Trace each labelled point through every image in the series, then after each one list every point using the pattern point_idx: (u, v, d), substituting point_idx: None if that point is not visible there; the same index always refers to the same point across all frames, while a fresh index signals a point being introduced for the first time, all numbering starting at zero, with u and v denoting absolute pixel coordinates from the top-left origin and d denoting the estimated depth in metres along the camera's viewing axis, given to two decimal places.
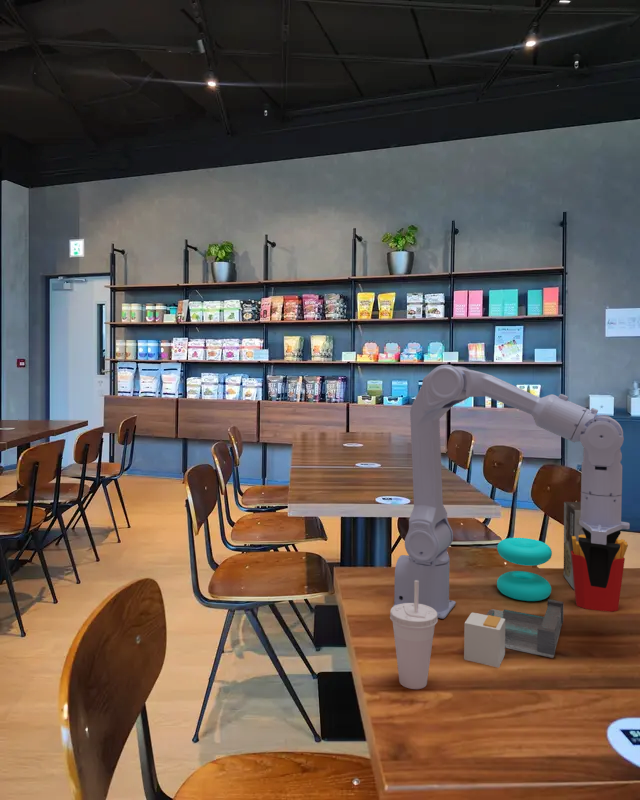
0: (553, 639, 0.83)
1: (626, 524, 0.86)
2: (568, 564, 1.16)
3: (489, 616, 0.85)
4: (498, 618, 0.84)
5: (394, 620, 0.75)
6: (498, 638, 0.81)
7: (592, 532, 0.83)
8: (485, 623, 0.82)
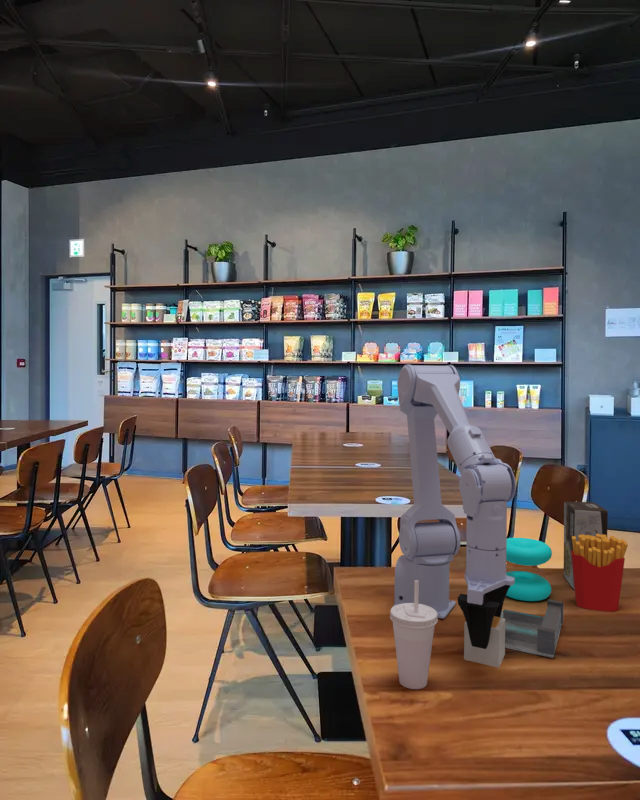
0: (553, 639, 0.83)
1: (510, 580, 0.81)
2: (568, 564, 1.16)
3: None
4: (498, 618, 0.84)
5: (394, 620, 0.75)
6: (498, 638, 0.81)
7: (468, 591, 0.78)
8: None
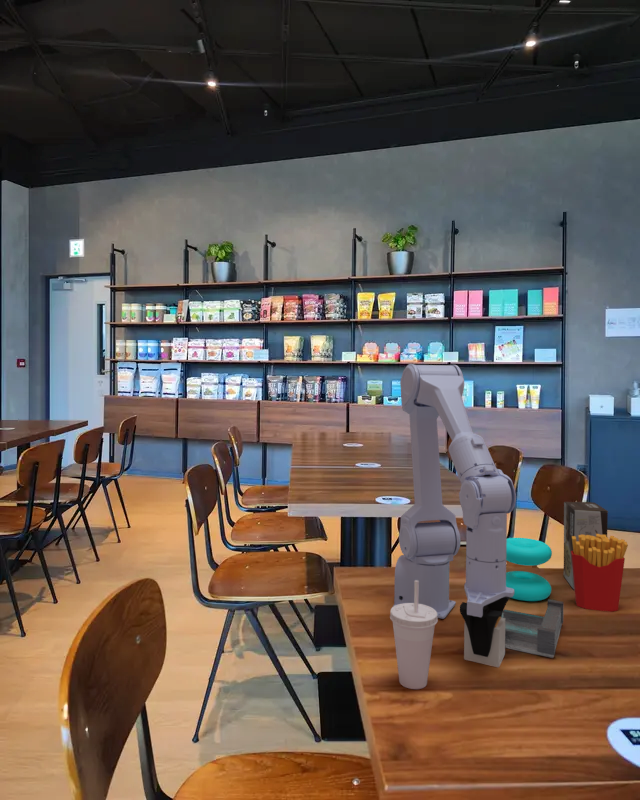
0: (553, 639, 0.83)
1: (510, 591, 0.81)
2: (568, 564, 1.16)
3: None
4: None
5: (394, 620, 0.75)
6: (498, 637, 0.81)
7: (468, 603, 0.78)
8: None
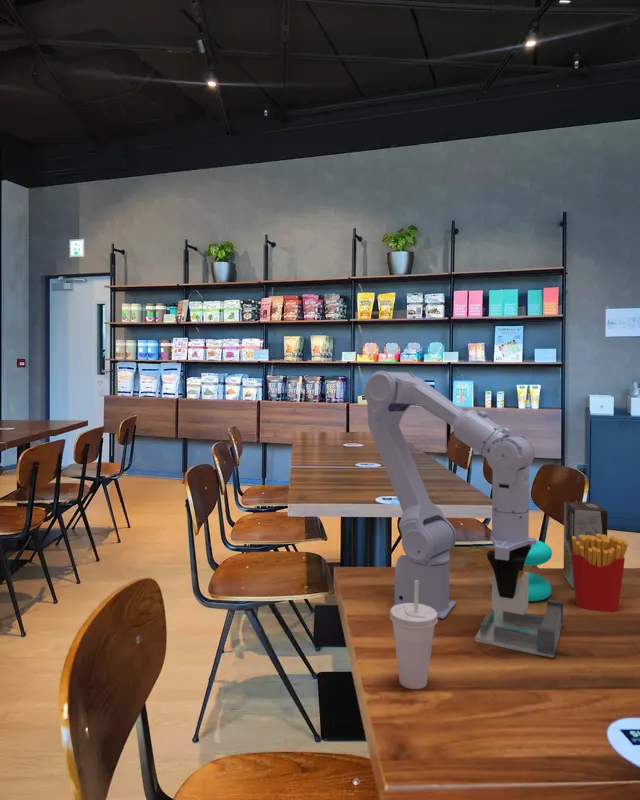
0: (553, 639, 0.83)
1: (532, 540, 0.90)
2: (568, 564, 1.16)
3: None
4: (522, 571, 0.93)
5: (394, 620, 0.75)
6: (523, 588, 0.90)
7: (495, 548, 0.87)
8: None
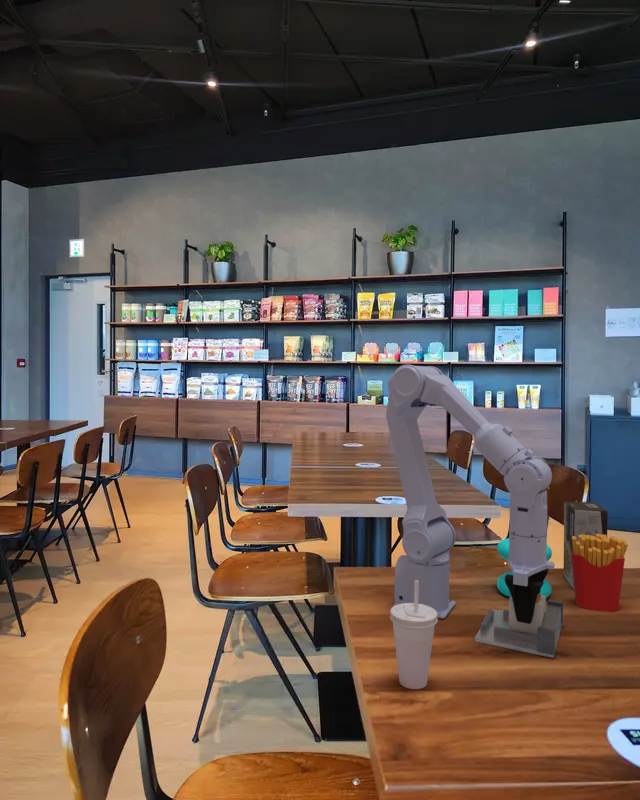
0: (553, 639, 0.83)
1: (550, 564, 0.89)
2: (568, 564, 1.16)
3: None
4: (539, 595, 0.92)
5: (394, 620, 0.75)
6: (541, 612, 0.88)
7: (514, 574, 0.85)
8: None
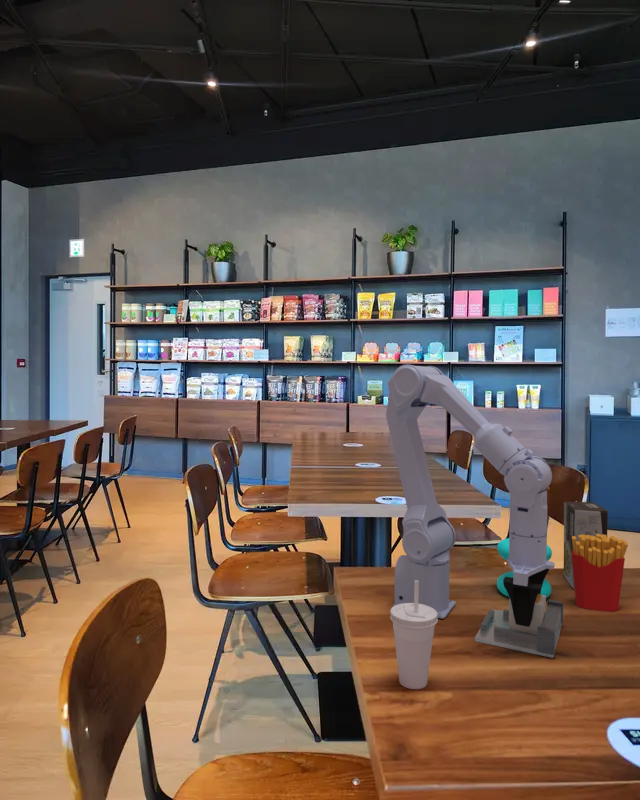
0: (553, 639, 0.83)
1: (550, 564, 0.89)
2: (568, 564, 1.16)
3: None
4: (539, 595, 0.92)
5: (394, 620, 0.75)
6: (541, 612, 0.88)
7: (514, 574, 0.85)
8: None
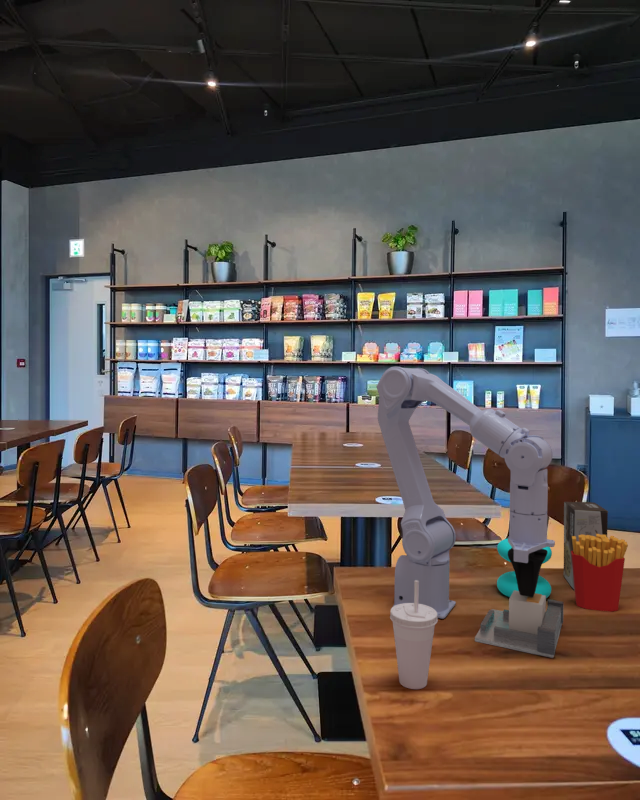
0: (553, 639, 0.83)
1: (551, 542, 0.89)
2: (568, 564, 1.16)
3: None
4: (539, 595, 0.92)
5: (394, 620, 0.75)
6: (541, 612, 0.88)
7: (514, 551, 0.85)
8: (528, 599, 0.90)
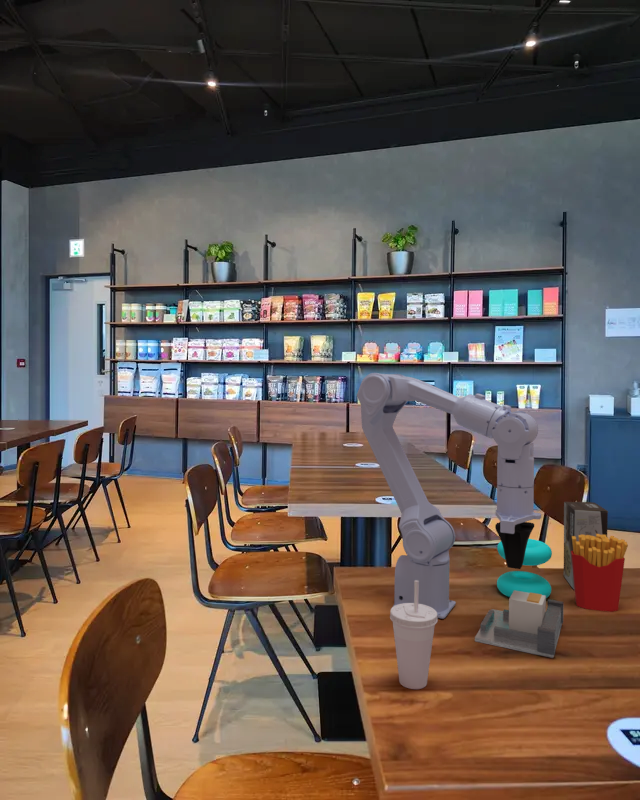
0: (553, 639, 0.83)
1: (537, 514, 0.91)
2: (568, 564, 1.16)
3: (531, 593, 0.92)
4: (539, 595, 0.92)
5: (394, 620, 0.75)
6: (541, 612, 0.88)
7: (501, 522, 0.87)
8: (528, 599, 0.90)
